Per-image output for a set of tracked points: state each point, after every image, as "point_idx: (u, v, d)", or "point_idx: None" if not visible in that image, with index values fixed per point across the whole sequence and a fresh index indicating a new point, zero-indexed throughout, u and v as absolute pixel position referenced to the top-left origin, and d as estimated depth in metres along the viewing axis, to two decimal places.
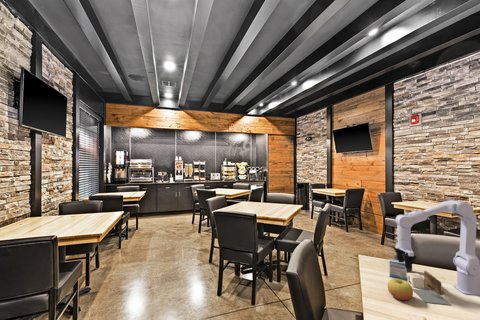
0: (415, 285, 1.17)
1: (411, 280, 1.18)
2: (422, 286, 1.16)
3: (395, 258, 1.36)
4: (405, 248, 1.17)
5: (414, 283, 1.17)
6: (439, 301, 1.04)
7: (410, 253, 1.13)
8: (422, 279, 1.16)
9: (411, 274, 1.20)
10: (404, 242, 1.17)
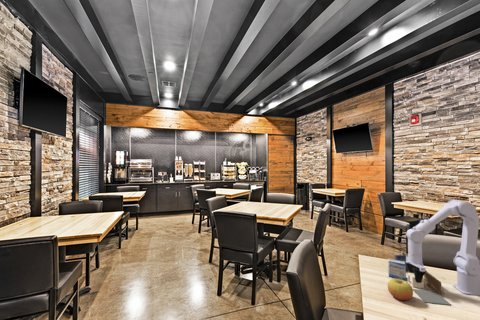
0: (415, 285, 1.17)
1: (411, 280, 1.18)
2: (422, 286, 1.16)
3: (395, 258, 1.36)
4: (416, 263, 1.17)
5: (414, 283, 1.17)
6: (439, 301, 1.04)
7: (422, 268, 1.12)
8: (422, 279, 1.16)
9: (411, 274, 1.20)
10: (415, 256, 1.17)
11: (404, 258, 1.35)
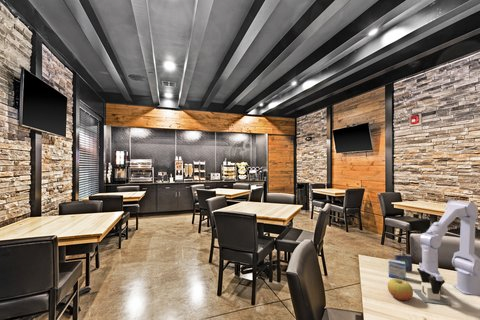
0: (430, 296, 1.06)
1: (426, 291, 1.07)
2: (438, 297, 1.05)
3: (395, 258, 1.36)
4: (432, 271, 1.06)
5: (429, 294, 1.06)
6: (439, 301, 1.04)
7: (438, 277, 1.01)
8: None
9: (425, 284, 1.09)
10: (431, 264, 1.06)
11: (404, 258, 1.35)
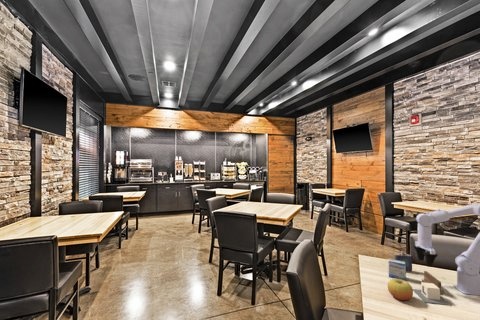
0: (430, 296, 1.06)
1: (426, 291, 1.07)
2: (438, 297, 1.05)
3: (395, 258, 1.36)
4: (426, 246, 1.18)
5: (429, 294, 1.06)
6: (439, 301, 1.04)
7: (432, 251, 1.14)
8: (438, 290, 1.05)
9: (425, 284, 1.09)
10: (425, 240, 1.19)
11: (404, 258, 1.35)
